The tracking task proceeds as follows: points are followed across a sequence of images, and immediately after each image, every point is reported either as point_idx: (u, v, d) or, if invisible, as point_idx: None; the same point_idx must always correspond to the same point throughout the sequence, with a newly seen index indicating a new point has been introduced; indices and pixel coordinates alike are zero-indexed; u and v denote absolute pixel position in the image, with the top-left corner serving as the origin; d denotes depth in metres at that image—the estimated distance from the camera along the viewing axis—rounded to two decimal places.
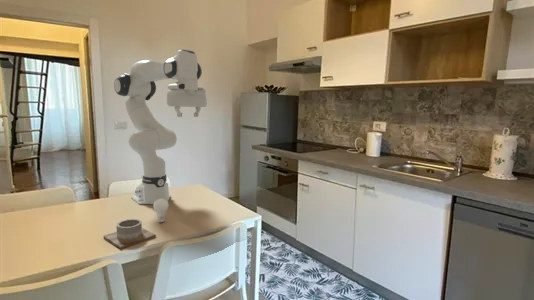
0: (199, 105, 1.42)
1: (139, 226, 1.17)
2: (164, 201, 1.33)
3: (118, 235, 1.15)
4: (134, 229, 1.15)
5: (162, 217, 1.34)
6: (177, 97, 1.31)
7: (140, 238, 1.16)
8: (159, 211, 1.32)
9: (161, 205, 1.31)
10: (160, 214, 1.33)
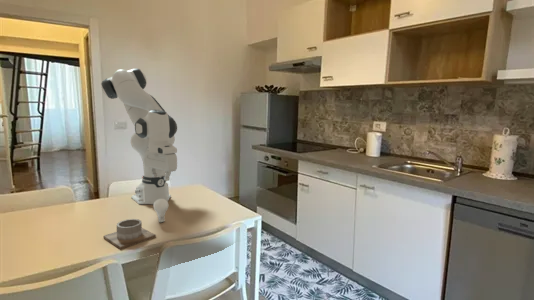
0: None
1: (139, 226, 1.17)
2: (164, 201, 1.33)
3: (118, 235, 1.15)
4: (134, 229, 1.15)
5: (162, 217, 1.34)
6: None
7: (140, 238, 1.16)
8: (159, 211, 1.32)
9: (161, 205, 1.31)
10: (160, 214, 1.33)
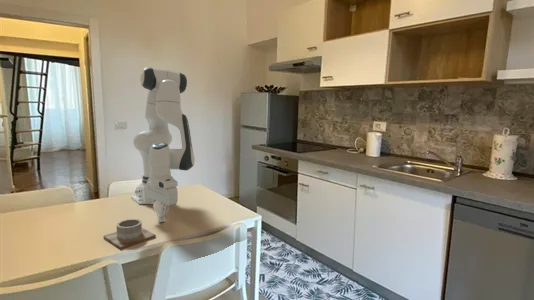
0: None
1: (139, 226, 1.17)
2: None
3: (118, 235, 1.15)
4: (134, 229, 1.15)
5: (162, 217, 1.34)
6: None
7: (140, 238, 1.16)
8: (159, 211, 1.32)
9: (161, 205, 1.31)
10: (160, 214, 1.33)
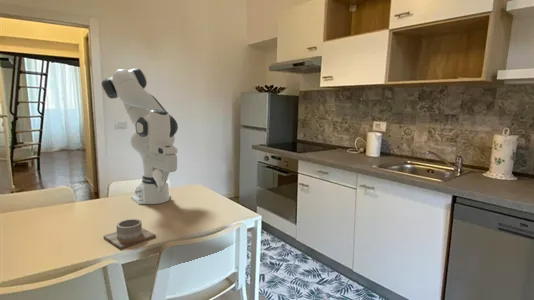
0: None
1: (139, 226, 1.17)
2: None
3: (118, 235, 1.15)
4: (134, 229, 1.15)
5: (161, 186, 1.32)
6: None
7: (140, 238, 1.16)
8: (158, 179, 1.30)
9: (160, 173, 1.29)
10: (160, 183, 1.31)
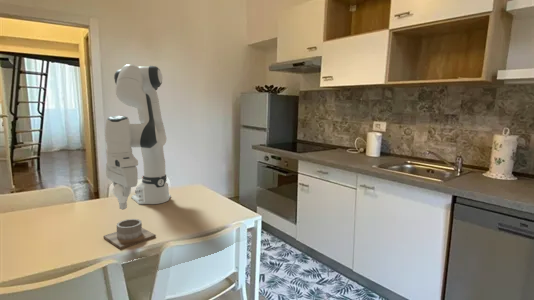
0: None
1: (139, 226, 1.17)
2: None
3: (118, 235, 1.15)
4: (134, 229, 1.15)
5: (123, 203, 1.16)
6: None
7: (140, 238, 1.16)
8: (119, 196, 1.14)
9: (121, 189, 1.13)
10: (121, 200, 1.15)
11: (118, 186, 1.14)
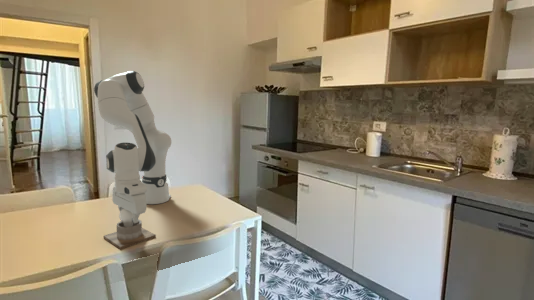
0: None
1: (139, 226, 1.17)
2: None
3: (118, 235, 1.15)
4: (134, 229, 1.15)
5: None
6: None
7: (140, 238, 1.16)
8: (125, 221, 1.16)
9: (127, 215, 1.16)
10: (127, 225, 1.17)
11: (125, 212, 1.16)
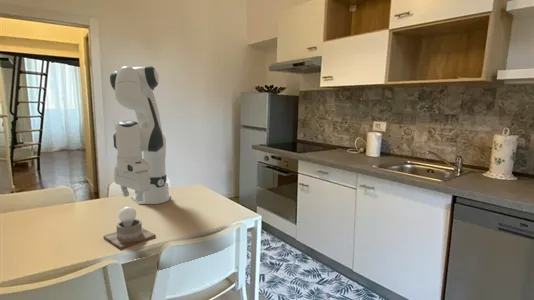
0: None
1: (139, 226, 1.17)
2: (131, 210, 1.18)
3: (118, 235, 1.15)
4: (134, 229, 1.15)
5: None
6: None
7: (140, 238, 1.16)
8: (125, 221, 1.16)
9: (127, 214, 1.16)
10: (127, 225, 1.18)
11: (124, 211, 1.16)
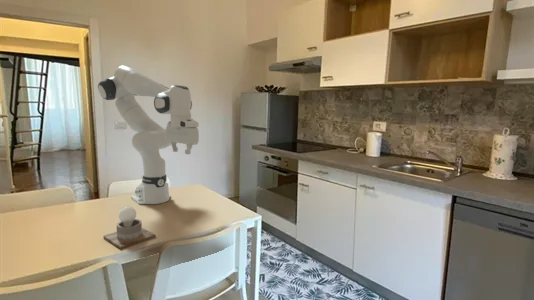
0: None
1: (139, 226, 1.17)
2: (131, 210, 1.18)
3: (118, 235, 1.15)
4: (134, 229, 1.15)
5: None
6: None
7: (140, 238, 1.16)
8: (125, 221, 1.16)
9: (127, 214, 1.16)
10: (127, 225, 1.18)
11: (124, 211, 1.16)
